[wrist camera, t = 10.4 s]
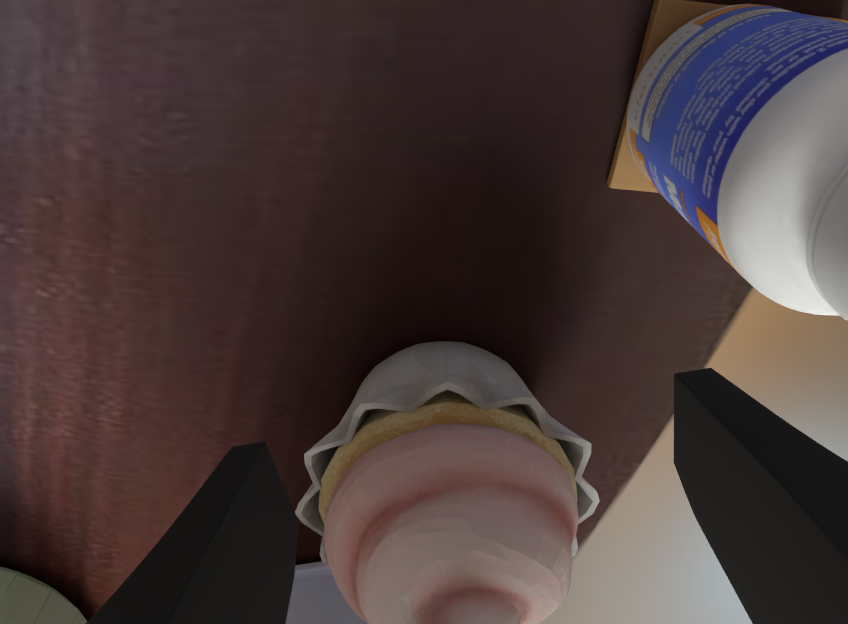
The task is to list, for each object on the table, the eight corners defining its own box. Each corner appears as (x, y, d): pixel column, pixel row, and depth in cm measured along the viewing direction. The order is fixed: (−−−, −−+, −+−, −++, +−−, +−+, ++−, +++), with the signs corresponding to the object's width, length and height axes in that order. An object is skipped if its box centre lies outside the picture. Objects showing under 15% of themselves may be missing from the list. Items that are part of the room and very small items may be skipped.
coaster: (769, 199, 20) (775, 204, 20) (605, 183, 20) (609, 188, 20) (840, 18, 18) (849, 20, 18) (654, -4, 17) (659, -3, 17)
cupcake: (579, 290, 22) (691, 529, 13) (557, 493, 27) (629, 765, 18) (297, 299, 22) (227, 546, 13) (325, 501, 27) (287, 779, 18)
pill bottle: (590, 166, 19) (732, 353, 11) (682, -31, 17) (959, 16, 8) (749, 219, 20) (992, 427, 12) (860, 40, 18) (1268, 146, 9)
